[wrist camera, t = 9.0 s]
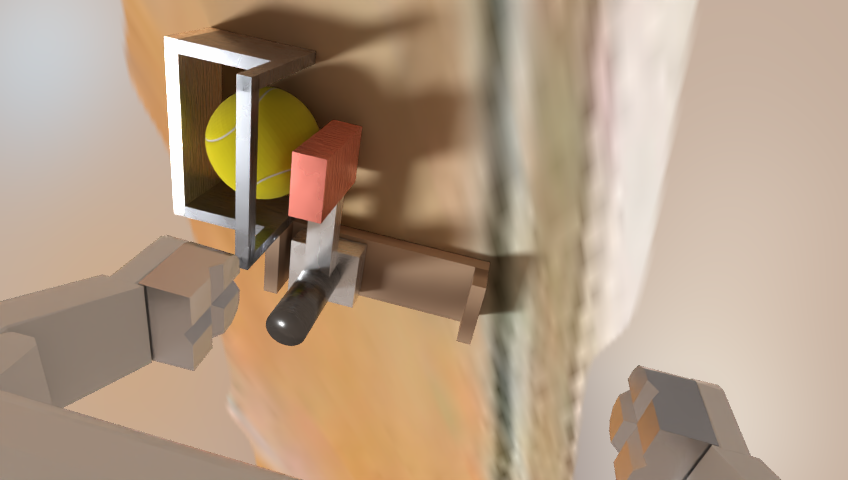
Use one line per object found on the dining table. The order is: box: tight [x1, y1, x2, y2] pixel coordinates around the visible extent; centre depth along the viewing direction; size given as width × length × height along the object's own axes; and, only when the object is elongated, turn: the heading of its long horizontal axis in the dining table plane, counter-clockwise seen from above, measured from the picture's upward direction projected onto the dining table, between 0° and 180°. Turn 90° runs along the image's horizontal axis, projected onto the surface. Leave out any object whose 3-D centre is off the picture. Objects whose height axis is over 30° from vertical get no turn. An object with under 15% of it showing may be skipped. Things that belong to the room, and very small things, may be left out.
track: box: [264, 218, 490, 344], centre depth 39 cm, size 5×16×4 cm, turn 79°
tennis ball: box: [205, 87, 319, 199], centre depth 34 cm, size 7×7×7 cm
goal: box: [164, 27, 316, 270], centre depth 33 cm, size 12×7×9 cm, turn 169°
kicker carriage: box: [266, 120, 367, 346], centre depth 34 cm, size 13×5×9 cm, turn 169°
